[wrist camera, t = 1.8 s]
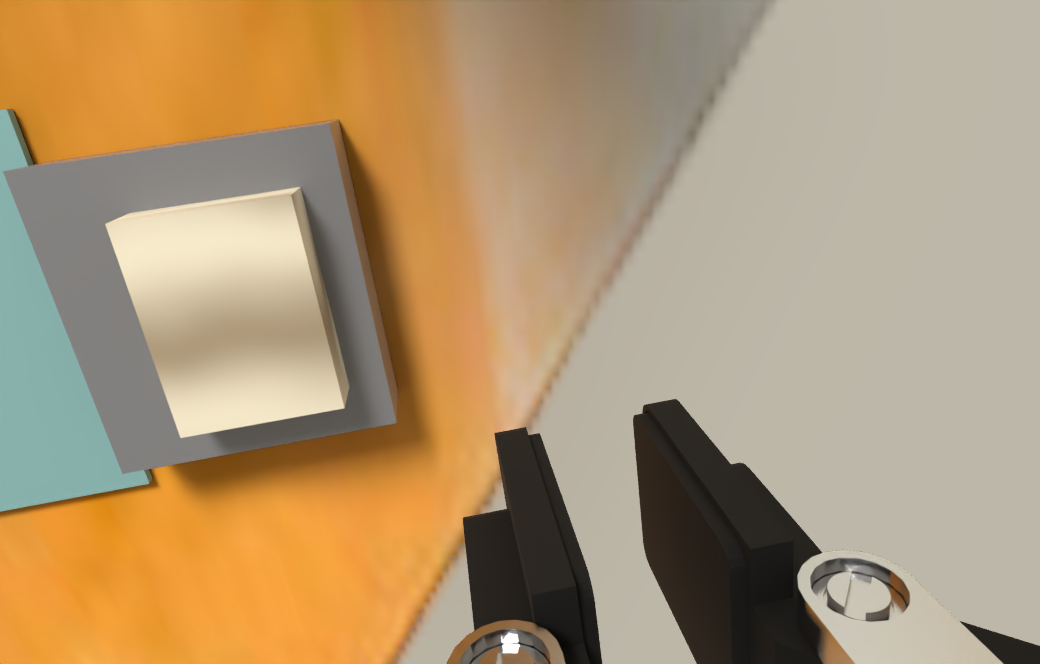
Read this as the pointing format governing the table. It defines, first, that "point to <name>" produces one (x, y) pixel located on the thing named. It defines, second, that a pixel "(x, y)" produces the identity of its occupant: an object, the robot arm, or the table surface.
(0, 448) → the mat
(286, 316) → the birch tile
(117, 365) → the grey flat square block
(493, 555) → the robot arm
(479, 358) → the table surface
